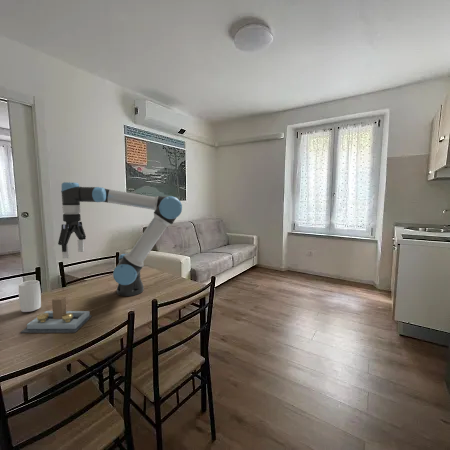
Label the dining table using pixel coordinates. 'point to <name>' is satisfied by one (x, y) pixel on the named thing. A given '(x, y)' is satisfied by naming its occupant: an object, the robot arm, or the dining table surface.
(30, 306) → the cup
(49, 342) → the dining table surface
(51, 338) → the dining table surface
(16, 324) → the dining table surface
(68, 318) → the plate
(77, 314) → the panel
